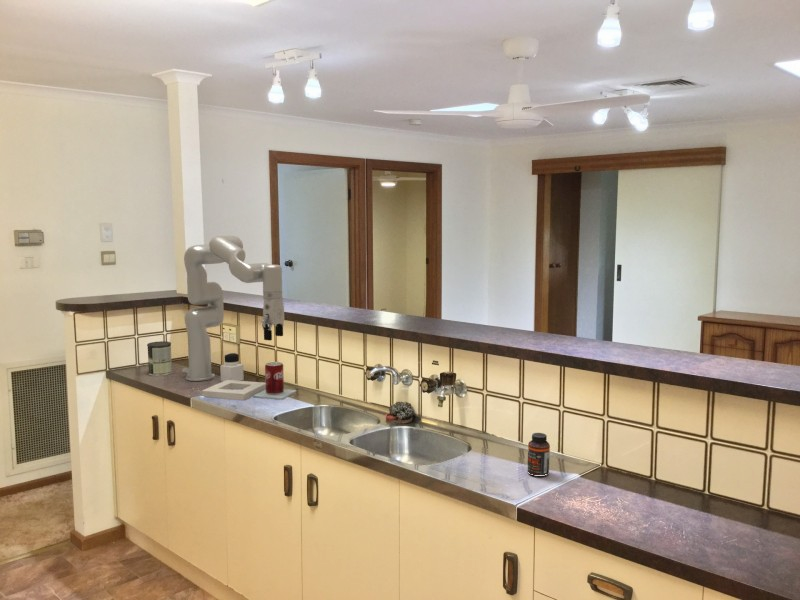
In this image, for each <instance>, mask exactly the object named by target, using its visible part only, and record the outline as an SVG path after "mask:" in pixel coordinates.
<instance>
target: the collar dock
mask: <svg viewBox="0 0 800 600" xmlns="http://www.w3.org/2000/svg"><path fill="white" fill-rule="evenodd" d="M265 389H266V384H265V382H259V381H247V380H242V381H236V380H225V381H221V382H219V383H216V384H214V385H212V386H209V387H207V388H204V389H203V390H201V397H202V396H204V397H203V398H212V399H213V398H214V399H224V400H226V399H227V400H236V401H237V400H238V401H246V400H248V399H249V398H250V399H251V398H253V396H254V395H255V394H257V393H259V392H261V391H263V390H265Z"/></svg>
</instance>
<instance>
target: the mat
mask: <svg viewBox="0 0 800 600" xmlns="http://www.w3.org/2000/svg"><path fill="white" fill-rule="evenodd" d="M297 392H298V390H296V389H286V388H284V392H283V393H282V394H278V395H269V394H267V393H266V389H265V390H263V391H261V392H259V393H257V394H255V395H254V396H252V398H257V399H258V398H259V399H271V400H281V401H282V400H284V399H286V398H288V397H290V396H292V395H294V394H295V393H297Z"/></svg>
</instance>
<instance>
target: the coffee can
mask: <svg viewBox="0 0 800 600" xmlns="http://www.w3.org/2000/svg"><path fill="white" fill-rule="evenodd" d="M146 346H147V359H148V360H147V362H148V375H149V376H152V377H160V376H161V377H162V376H167V375H172V373H173V369H172V368H173V366H172V342H171V341H166V340H165V341H163V340H162V341H152V342H149V343H147V344H146Z"/></svg>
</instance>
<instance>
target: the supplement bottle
mask: <svg viewBox="0 0 800 600" xmlns="http://www.w3.org/2000/svg"><path fill="white" fill-rule="evenodd" d="M550 448H551V446H550V443H549V442H548V441H547V434H545V433H542V432H534V433H532V435H531V440H530V441H528V445H527V468H526V469H527V473H528V472H529V473H530V474H533V475H545V474H548V473H550V451H551V449H550ZM530 474H529V475H530ZM548 475H549V474H548Z"/></svg>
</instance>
